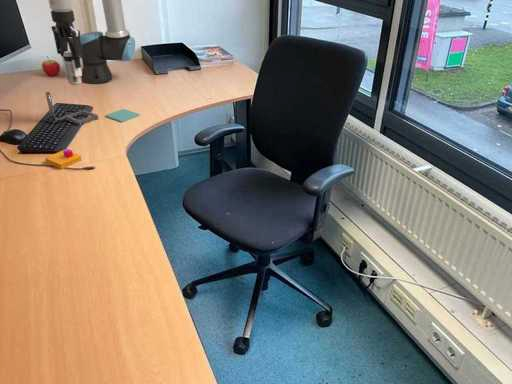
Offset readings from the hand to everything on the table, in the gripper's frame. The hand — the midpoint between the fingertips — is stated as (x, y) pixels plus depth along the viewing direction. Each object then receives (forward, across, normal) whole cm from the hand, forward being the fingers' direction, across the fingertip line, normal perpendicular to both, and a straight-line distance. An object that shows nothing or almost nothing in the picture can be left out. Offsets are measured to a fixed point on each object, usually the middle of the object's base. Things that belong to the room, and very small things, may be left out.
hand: (73, 74), depth 162 cm
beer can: (+4, 0, 0) cm, 4 cm away
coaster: (+19, +10, +13) cm, 25 cm away
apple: (+19, -62, +29) cm, 71 cm away
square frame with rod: (+19, -2, -3) cm, 19 cm away
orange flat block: (+19, +26, -27) cm, 42 cm away
